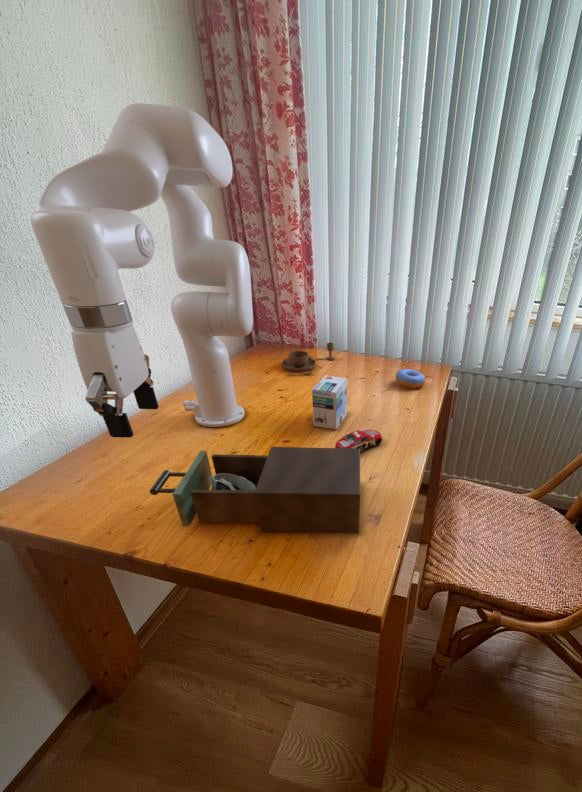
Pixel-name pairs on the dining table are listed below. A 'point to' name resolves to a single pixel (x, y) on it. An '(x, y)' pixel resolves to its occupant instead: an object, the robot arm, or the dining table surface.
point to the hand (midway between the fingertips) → (136, 421)
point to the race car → (360, 440)
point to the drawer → (215, 503)
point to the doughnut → (410, 378)
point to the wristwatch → (231, 482)
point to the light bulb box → (329, 402)
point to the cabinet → (309, 491)
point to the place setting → (303, 361)
